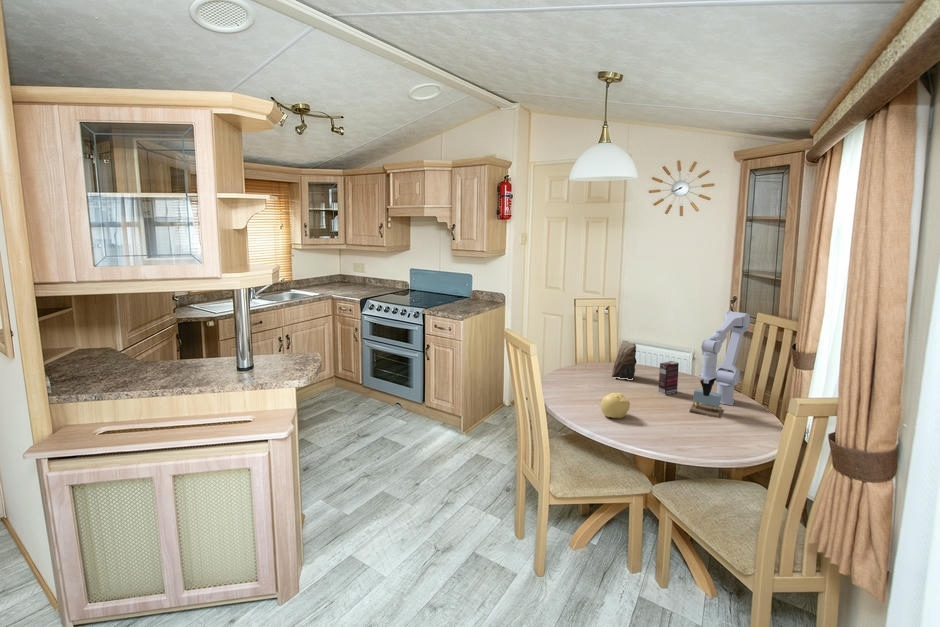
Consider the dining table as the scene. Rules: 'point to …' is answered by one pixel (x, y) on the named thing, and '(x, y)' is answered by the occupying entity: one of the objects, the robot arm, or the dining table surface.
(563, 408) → the dining table surface
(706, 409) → the peg stand
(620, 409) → the yellow round lump
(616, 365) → the brown rock
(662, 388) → the supplement box
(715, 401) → the light blue rectangular block
